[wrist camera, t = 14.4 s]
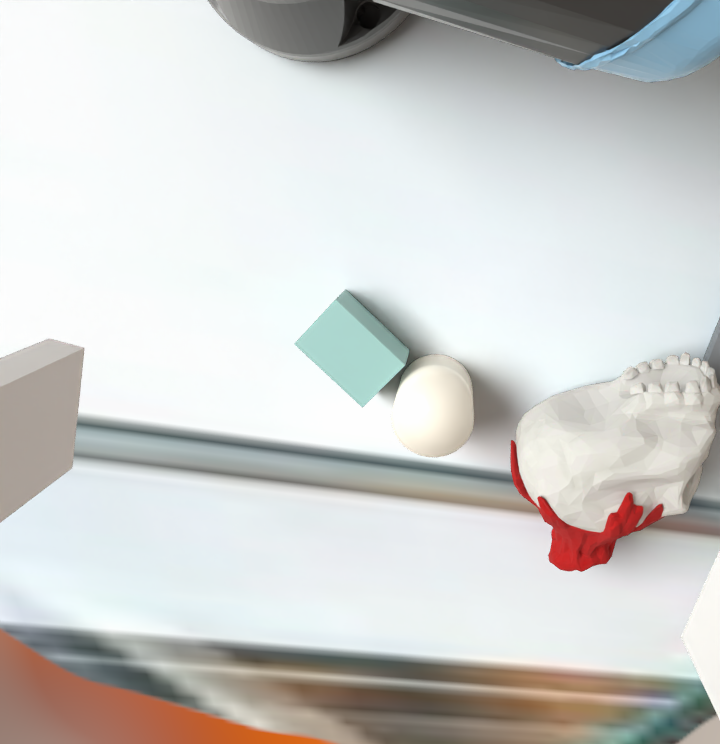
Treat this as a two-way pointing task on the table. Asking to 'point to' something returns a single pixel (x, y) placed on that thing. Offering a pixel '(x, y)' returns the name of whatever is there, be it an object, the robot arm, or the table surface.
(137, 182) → the table surface
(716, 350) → the mat
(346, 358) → the teal block
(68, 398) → the robot arm
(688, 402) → the white two-tone toothed figurine
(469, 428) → the cream capsule cylinder
